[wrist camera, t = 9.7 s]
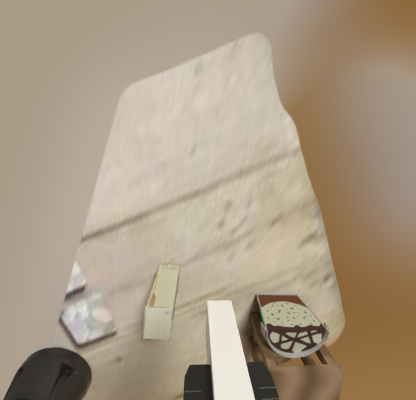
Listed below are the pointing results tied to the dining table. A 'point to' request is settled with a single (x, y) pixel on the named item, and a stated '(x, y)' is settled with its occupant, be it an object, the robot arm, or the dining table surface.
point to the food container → (290, 325)
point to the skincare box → (161, 303)
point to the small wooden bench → (298, 370)
